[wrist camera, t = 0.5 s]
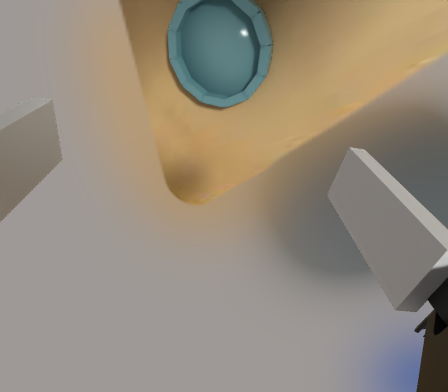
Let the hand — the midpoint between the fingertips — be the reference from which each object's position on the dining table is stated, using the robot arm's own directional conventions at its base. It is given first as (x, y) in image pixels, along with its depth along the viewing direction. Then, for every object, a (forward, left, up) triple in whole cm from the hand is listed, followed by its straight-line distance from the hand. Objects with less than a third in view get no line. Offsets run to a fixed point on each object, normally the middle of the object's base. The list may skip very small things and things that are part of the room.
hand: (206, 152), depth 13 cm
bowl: (+2, -11, -30) cm, 32 cm away
